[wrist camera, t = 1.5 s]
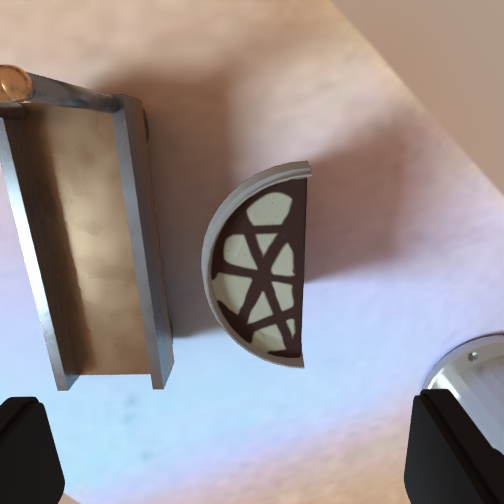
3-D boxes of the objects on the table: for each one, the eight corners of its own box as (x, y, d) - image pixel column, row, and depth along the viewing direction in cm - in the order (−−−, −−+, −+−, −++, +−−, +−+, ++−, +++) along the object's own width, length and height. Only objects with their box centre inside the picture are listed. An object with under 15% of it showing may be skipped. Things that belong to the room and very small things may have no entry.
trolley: (154, 102, 26) (20, 60, 12) (182, 342, 32) (116, 507, 18) (48, 107, 26) (-212, 72, 12) (95, 343, 32) (-38, 508, 18)
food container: (214, 154, 27) (187, 164, 17) (295, 153, 27) (312, 163, 17) (220, 301, 31) (201, 375, 21) (291, 301, 31) (304, 376, 21)
